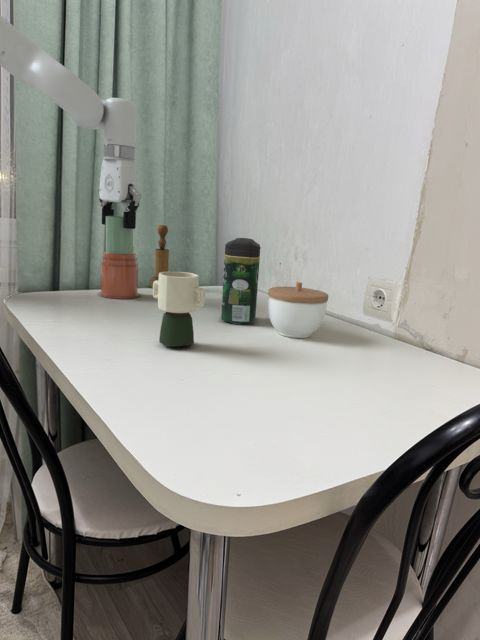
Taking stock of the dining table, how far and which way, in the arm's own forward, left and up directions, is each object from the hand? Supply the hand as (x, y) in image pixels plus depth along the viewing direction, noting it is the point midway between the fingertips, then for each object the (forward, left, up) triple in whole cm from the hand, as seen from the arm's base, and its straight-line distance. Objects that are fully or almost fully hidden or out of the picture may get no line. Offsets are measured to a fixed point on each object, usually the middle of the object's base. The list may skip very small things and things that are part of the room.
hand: (118, 226), depth 128 cm
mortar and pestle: (-6, +18, -18) cm, 26 cm away
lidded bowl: (+51, +10, -18) cm, 55 cm away
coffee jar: (+36, +8, -18) cm, 41 cm away
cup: (0, 0, -7) cm, 7 cm away
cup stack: (0, 0, -18) cm, 18 cm away
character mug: (+45, -17, -18) cm, 51 cm away
